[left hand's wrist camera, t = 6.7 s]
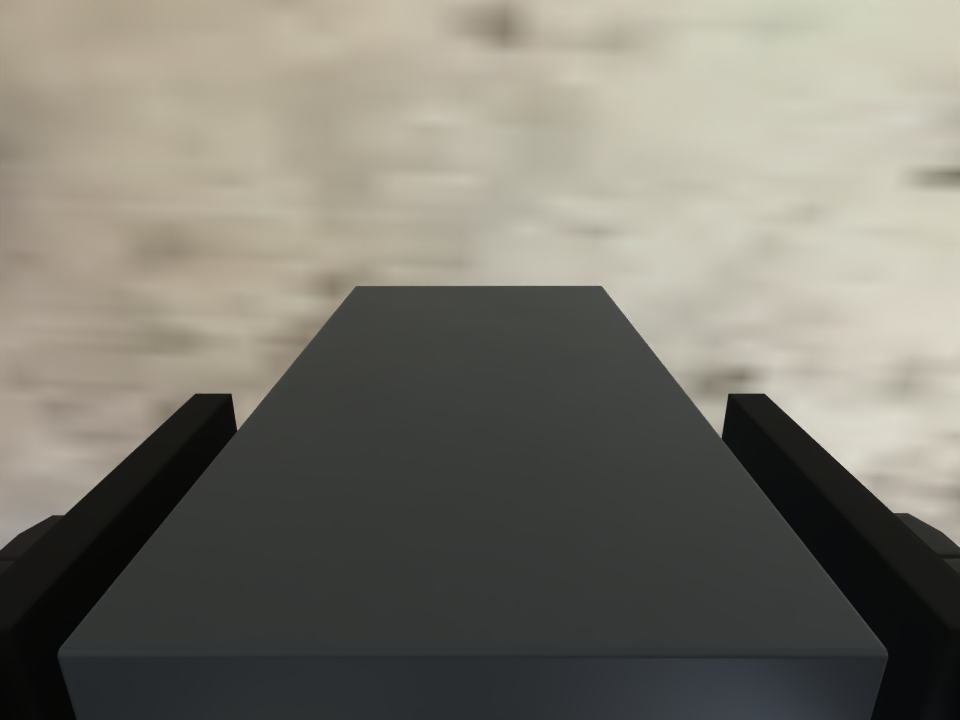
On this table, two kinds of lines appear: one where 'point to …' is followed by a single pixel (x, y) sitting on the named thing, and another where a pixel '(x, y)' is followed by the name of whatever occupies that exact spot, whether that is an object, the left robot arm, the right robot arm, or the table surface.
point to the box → (474, 542)
